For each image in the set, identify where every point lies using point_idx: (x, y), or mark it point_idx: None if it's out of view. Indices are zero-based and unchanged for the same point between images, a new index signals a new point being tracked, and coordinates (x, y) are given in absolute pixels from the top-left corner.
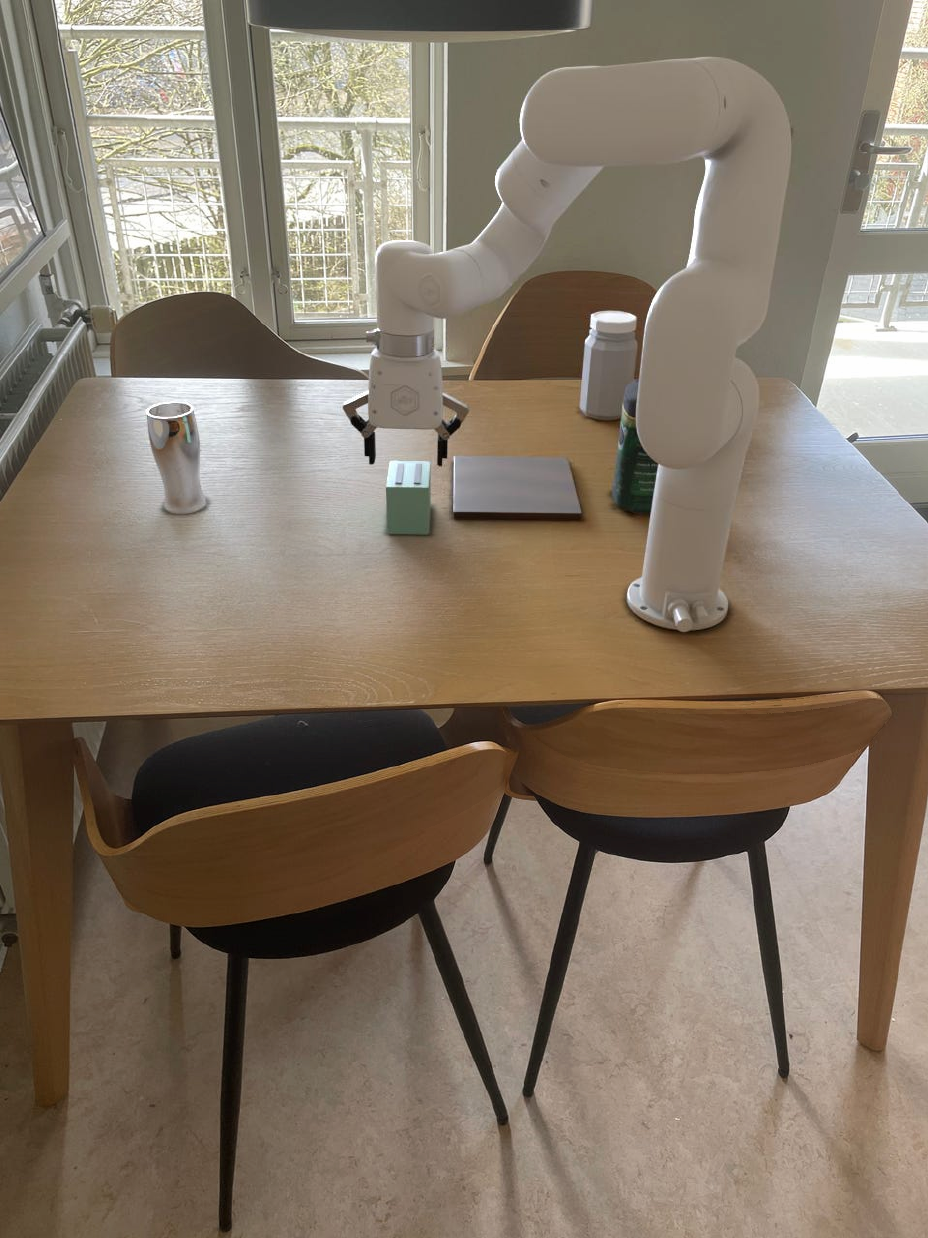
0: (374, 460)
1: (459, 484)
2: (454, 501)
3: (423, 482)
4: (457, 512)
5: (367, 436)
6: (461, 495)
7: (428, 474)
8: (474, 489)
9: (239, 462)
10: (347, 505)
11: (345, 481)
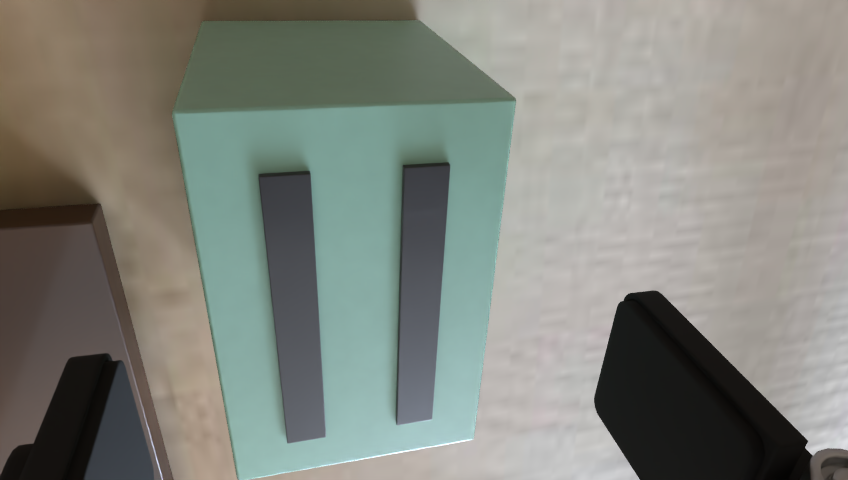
0: (622, 329)
1: None
2: (115, 322)
3: (234, 198)
4: (70, 221)
5: (819, 465)
6: None
7: (218, 326)
8: None
9: None
10: (573, 267)
11: (565, 417)
